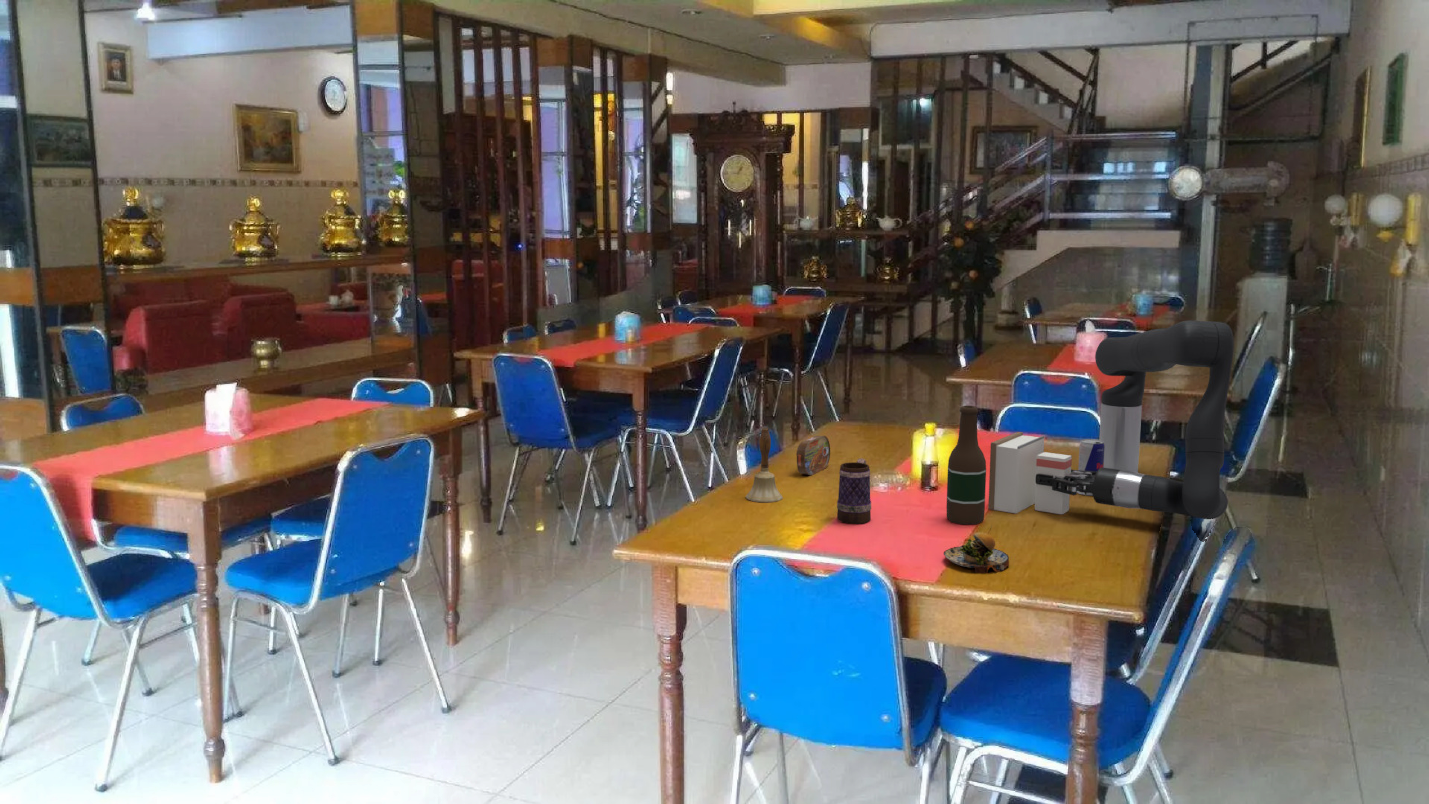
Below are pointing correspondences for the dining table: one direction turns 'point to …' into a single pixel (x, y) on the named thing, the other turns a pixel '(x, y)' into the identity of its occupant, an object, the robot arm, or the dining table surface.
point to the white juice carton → (1044, 494)
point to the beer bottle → (966, 473)
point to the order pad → (1013, 472)
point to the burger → (979, 554)
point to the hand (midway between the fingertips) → (1040, 476)
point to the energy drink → (1091, 456)
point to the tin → (813, 455)
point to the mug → (854, 493)
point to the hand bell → (764, 475)
